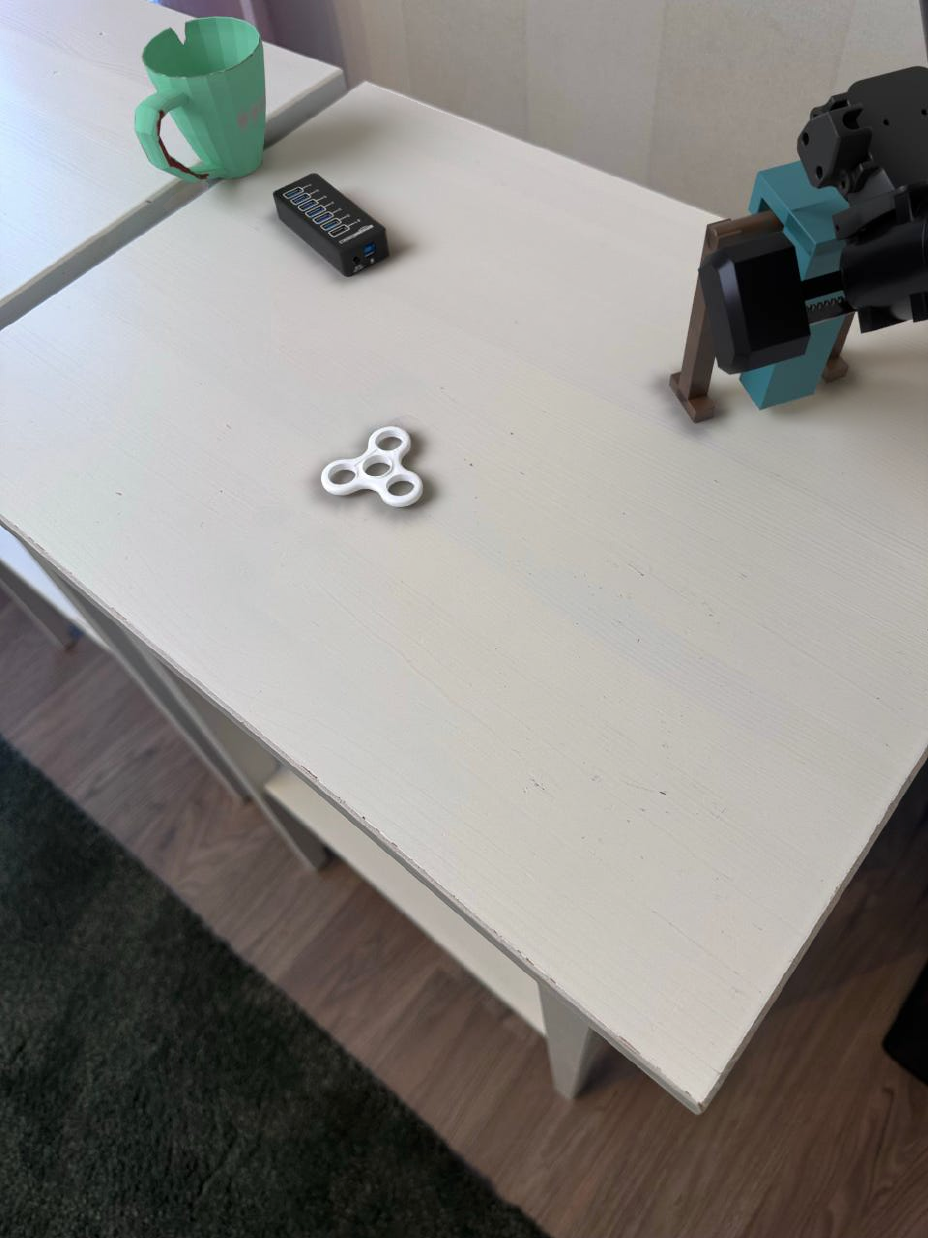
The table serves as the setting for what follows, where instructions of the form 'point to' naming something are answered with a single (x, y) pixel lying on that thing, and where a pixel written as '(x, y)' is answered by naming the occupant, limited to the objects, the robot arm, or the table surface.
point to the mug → (206, 97)
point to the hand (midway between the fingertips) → (794, 295)
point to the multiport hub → (331, 224)
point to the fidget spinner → (377, 482)
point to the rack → (699, 344)
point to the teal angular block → (816, 256)
